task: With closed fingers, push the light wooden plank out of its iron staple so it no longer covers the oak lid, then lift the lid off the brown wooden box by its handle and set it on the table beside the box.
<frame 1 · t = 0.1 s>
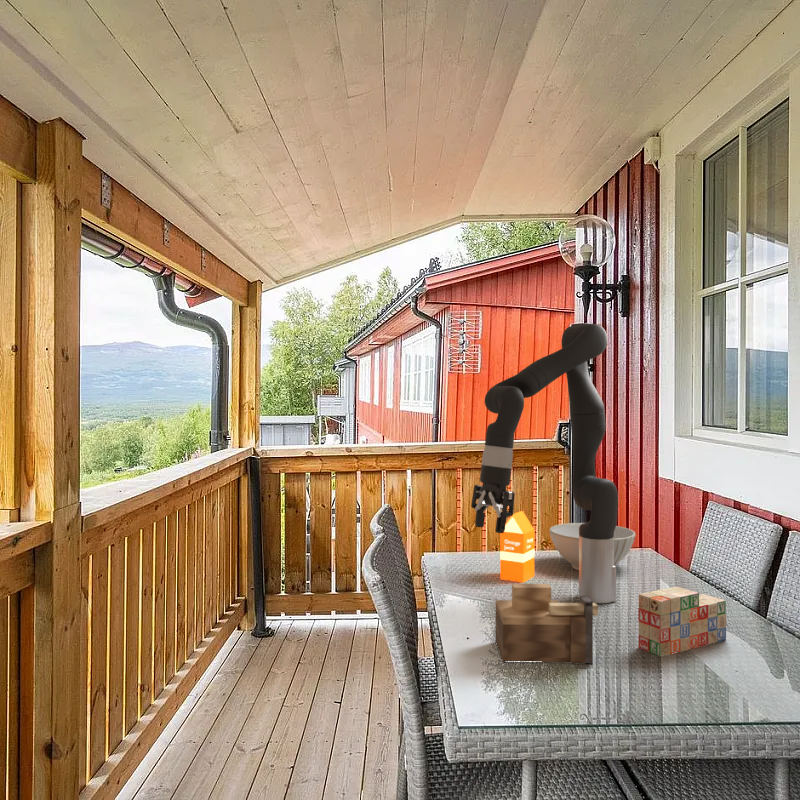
hand: (489, 529, 172), 22 cm above the table, tool pointing down, fingers open, 8 cm apart
light wooden plank: (573, 609, 146), point 11 cm above the table, slide at 0.0 cm
brown wooden box: (531, 651, 151), on the table
stack of blocks: (682, 645, 156), on the table
orange juice: (517, 578, 212), on the table
lid: (531, 619, 151), point 7 cm above the table, touching brown wooden box
decorative bowl: (591, 568, 224), on the table
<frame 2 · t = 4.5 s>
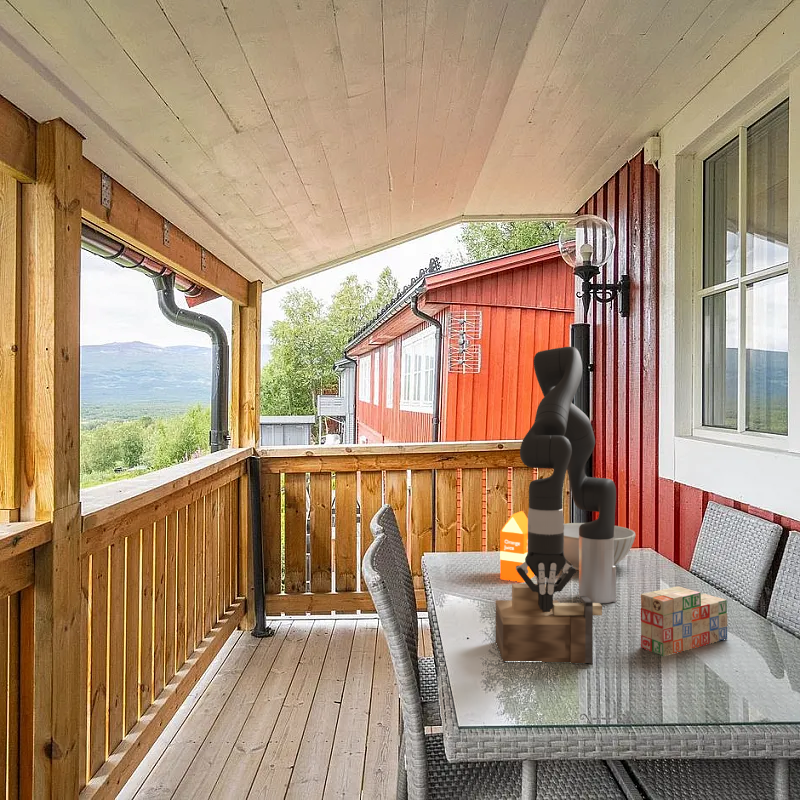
hand: (545, 610, 146), 10 cm above the table, tool pointing down, fingers closed
light wooden plank: (576, 609, 146), point 11 cm above the table, slide at 0.8 cm, touching gripper
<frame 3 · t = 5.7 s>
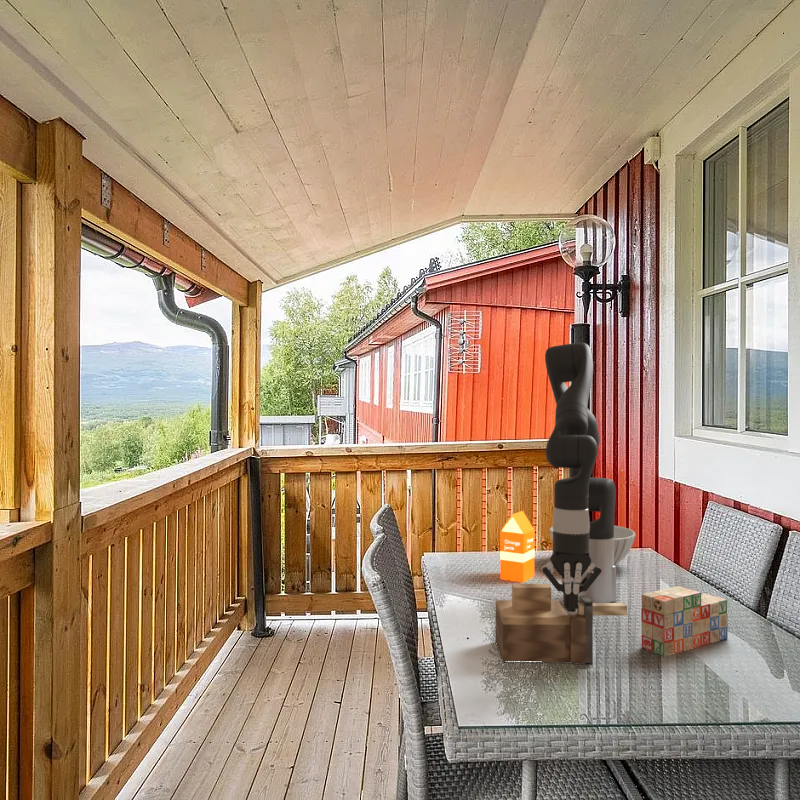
hand: (570, 610, 146), 10 cm above the table, tool pointing down, fingers closed
light wooden plank: (601, 609, 146), point 11 cm above the table, slide at 6.1 cm, touching gripper
everything else where it was.
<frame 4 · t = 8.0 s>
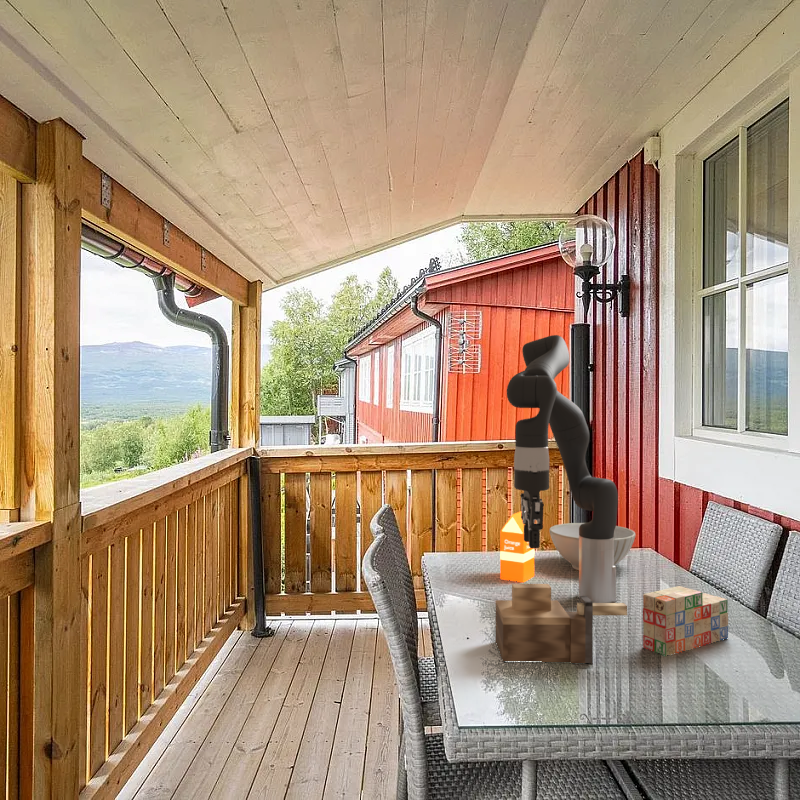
hand: (531, 544, 151), 24 cm above the table, tool pointing down, fingers open, 5 cm apart
light wooden plank: (601, 609, 146), point 11 cm above the table, slide at 6.1 cm
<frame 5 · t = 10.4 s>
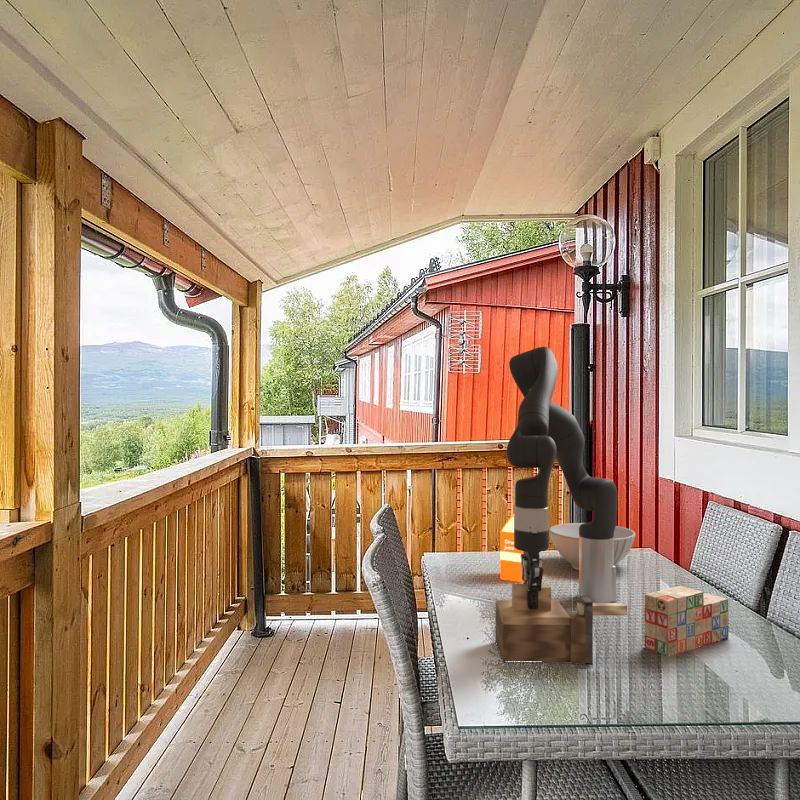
hand: (531, 605, 151), 10 cm above the table, tool pointing down, fingers closed on lid, 3 cm apart
lid: (531, 619, 151), point 7 cm above the table, touching gripper, brown wooden box
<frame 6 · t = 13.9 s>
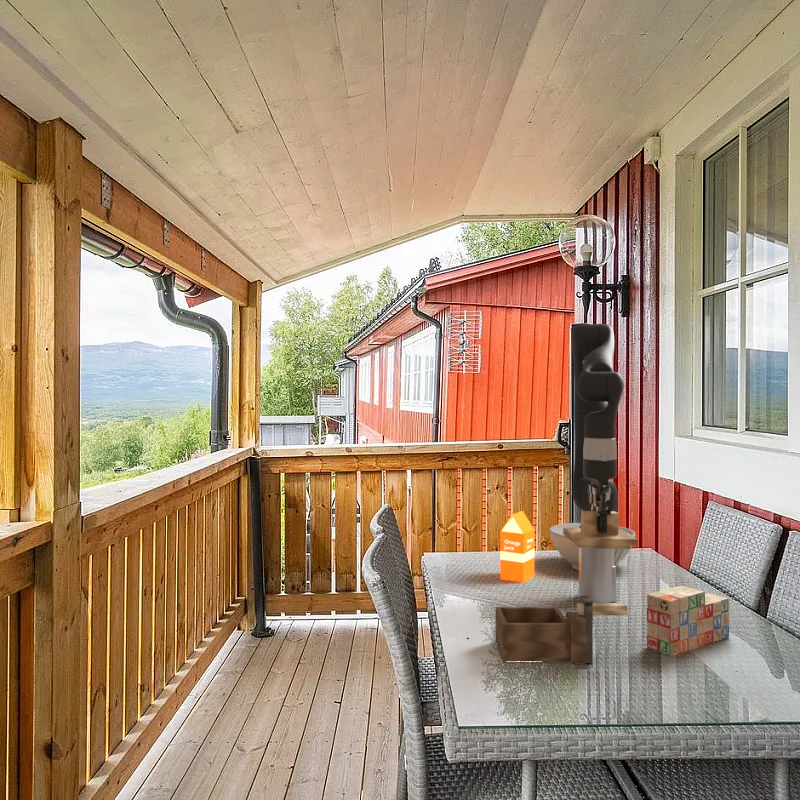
hand: (599, 530, 162), 24 cm above the table, tool pointing down, fingers closed on lid, 3 cm apart
lid: (599, 544, 162), point 21 cm above the table, touching gripper
when the fingers open (5 cm above the table, at t = 17.7 s): lid drops 2 cm, on the table.
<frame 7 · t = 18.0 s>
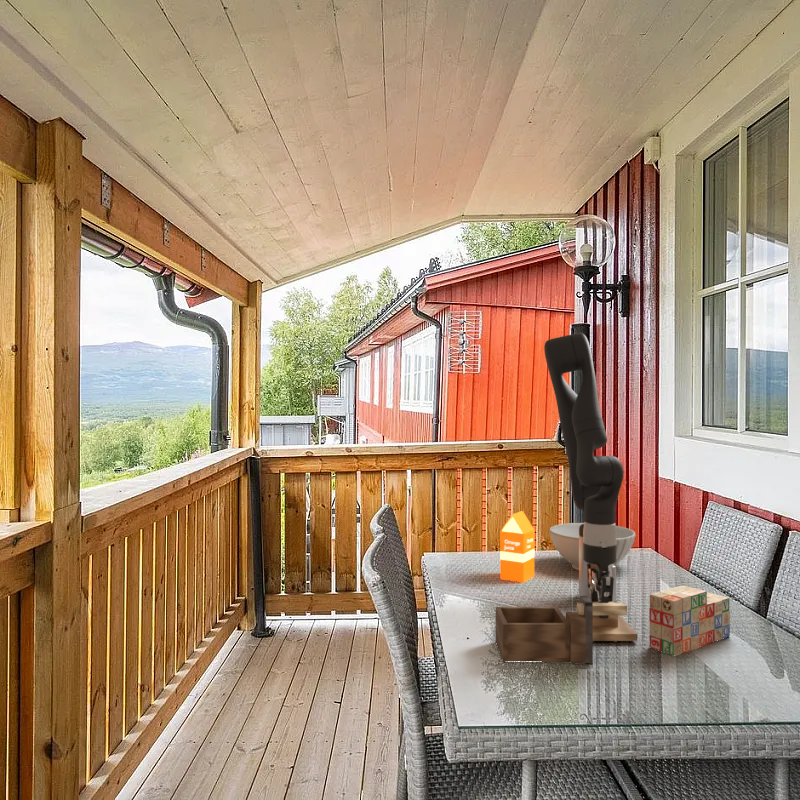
hand: (599, 613, 162), 5 cm above the table, tool pointing down, fingers open, 5 cm apart
lid: (598, 635, 162), on the table
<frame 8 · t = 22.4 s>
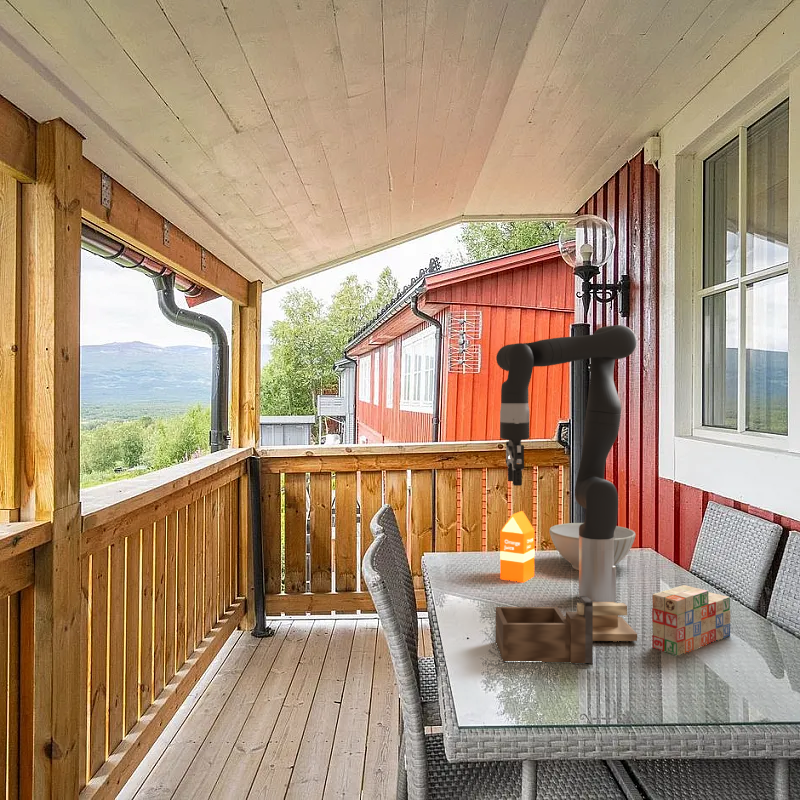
hand: (514, 483, 180), 33 cm above the table, tool pointing down, fingers open, 8 cm apart
at the end: light wooden plank slide at 6.1 cm; lid inside the target area (0.1 cm from its centre), on the table; lid tilted 0° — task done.
